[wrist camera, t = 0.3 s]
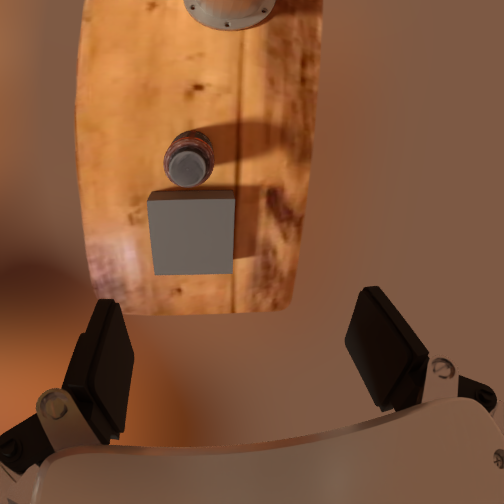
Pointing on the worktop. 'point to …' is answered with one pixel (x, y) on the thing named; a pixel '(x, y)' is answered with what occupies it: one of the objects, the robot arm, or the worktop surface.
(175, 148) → the supplement bottle
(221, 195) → the pedestal
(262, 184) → the worktop surface
